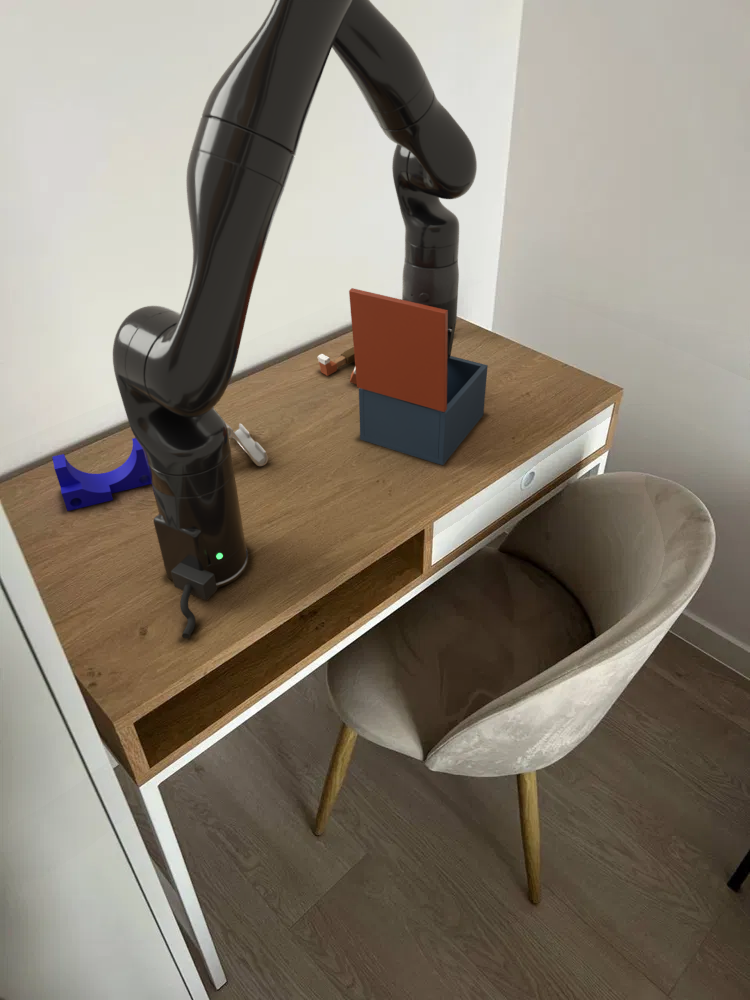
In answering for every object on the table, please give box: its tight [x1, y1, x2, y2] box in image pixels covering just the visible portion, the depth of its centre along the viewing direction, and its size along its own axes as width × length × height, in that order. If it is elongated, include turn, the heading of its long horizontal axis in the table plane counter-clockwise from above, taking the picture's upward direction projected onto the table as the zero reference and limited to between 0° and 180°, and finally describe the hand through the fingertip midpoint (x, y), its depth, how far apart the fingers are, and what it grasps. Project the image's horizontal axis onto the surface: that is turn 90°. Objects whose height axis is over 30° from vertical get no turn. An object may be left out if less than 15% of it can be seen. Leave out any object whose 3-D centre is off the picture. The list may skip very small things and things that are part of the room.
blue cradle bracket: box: [52, 437, 152, 512], centre depth 110 cm, size 12×4×6 cm, turn 112°
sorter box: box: [358, 355, 489, 466], centre depth 120 cm, size 15×14×9 cm
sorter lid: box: [348, 287, 448, 412], centre depth 107 cm, size 15×14×1 cm
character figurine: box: [316, 346, 357, 385], centre depth 138 cm, size 12×5×18 cm
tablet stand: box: [213, 406, 269, 467], centre depth 115 cm, size 9×8×8 cm
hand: (426, 396), depth 121 cm, fingers closed on walnut block, 4 cm apart
